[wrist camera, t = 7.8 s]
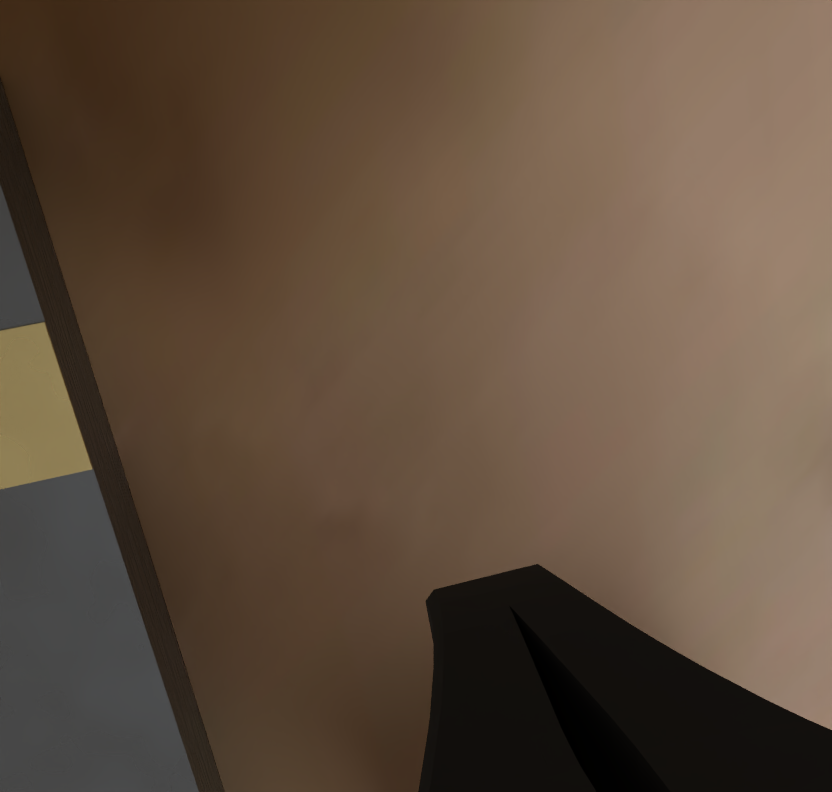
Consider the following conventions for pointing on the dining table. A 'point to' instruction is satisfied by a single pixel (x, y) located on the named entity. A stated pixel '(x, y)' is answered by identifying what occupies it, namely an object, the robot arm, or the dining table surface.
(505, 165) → the dining table surface
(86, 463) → the console
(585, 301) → the dining table surface
